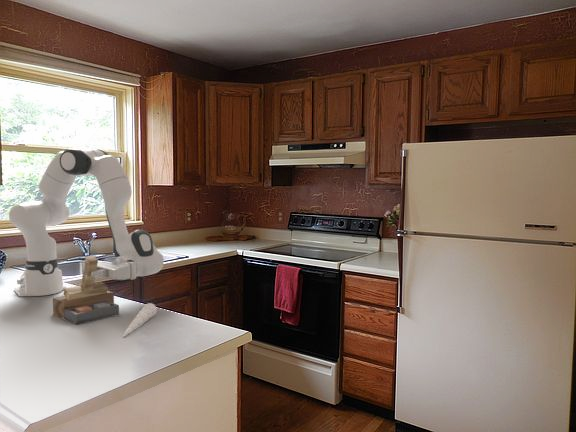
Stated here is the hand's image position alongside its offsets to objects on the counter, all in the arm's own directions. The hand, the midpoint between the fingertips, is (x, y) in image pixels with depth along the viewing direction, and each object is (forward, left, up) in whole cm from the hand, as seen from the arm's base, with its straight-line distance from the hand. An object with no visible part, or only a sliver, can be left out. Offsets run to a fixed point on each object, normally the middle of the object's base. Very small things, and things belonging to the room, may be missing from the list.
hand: (87, 273), depth 157 cm
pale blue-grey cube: (+5, +2, -11) cm, 12 cm away
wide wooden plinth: (-5, +1, -15) cm, 16 cm away
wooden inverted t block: (-3, +1, -8) cm, 9 cm away
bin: (+4, -1, -15) cm, 15 cm away
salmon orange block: (+5, -4, -11) cm, 12 cm away
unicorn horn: (+25, +5, -15) cm, 29 cm away
